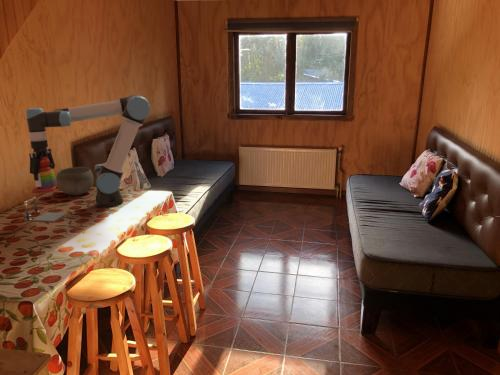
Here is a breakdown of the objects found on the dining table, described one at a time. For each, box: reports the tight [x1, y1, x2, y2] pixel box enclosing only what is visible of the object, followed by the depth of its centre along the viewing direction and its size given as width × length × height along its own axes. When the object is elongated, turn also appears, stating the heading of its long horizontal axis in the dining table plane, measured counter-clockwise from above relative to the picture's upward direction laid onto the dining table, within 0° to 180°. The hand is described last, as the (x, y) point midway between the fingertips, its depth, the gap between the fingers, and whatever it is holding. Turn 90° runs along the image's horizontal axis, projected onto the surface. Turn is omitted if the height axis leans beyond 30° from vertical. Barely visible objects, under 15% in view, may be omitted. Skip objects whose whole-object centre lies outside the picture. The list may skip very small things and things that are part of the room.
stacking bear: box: [31, 157, 57, 194], centre depth 213 cm, size 11×10×18 cm
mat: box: [31, 211, 68, 223], centre depth 220 cm, size 12×12×1 cm
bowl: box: [56, 166, 94, 196], centre depth 260 cm, size 21×21×15 cm
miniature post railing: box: [23, 196, 41, 222], centre depth 221 cm, size 8×16×9 cm, turn 170°
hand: (45, 183), depth 215 cm, fingers closed on stacking bear, 9 cm apart
